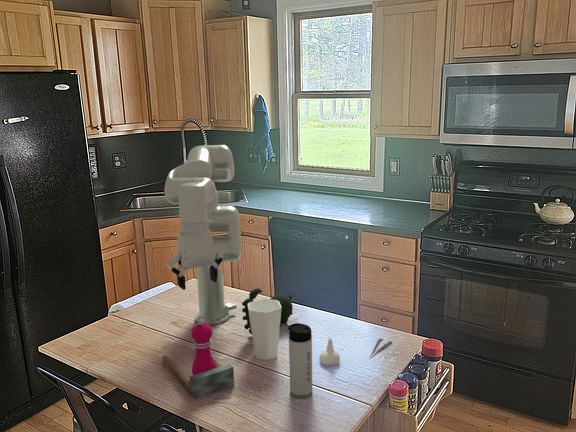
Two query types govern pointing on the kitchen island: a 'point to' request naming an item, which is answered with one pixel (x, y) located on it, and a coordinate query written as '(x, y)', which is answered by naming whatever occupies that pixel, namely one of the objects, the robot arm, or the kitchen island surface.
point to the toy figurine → (284, 300)
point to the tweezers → (381, 347)
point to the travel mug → (300, 360)
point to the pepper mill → (202, 348)
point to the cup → (265, 327)
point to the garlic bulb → (329, 355)
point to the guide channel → (203, 379)
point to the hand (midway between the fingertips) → (198, 284)
